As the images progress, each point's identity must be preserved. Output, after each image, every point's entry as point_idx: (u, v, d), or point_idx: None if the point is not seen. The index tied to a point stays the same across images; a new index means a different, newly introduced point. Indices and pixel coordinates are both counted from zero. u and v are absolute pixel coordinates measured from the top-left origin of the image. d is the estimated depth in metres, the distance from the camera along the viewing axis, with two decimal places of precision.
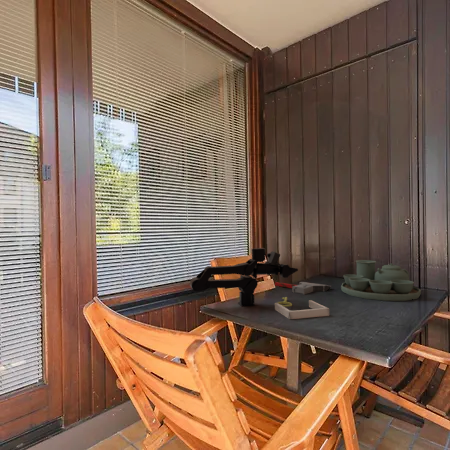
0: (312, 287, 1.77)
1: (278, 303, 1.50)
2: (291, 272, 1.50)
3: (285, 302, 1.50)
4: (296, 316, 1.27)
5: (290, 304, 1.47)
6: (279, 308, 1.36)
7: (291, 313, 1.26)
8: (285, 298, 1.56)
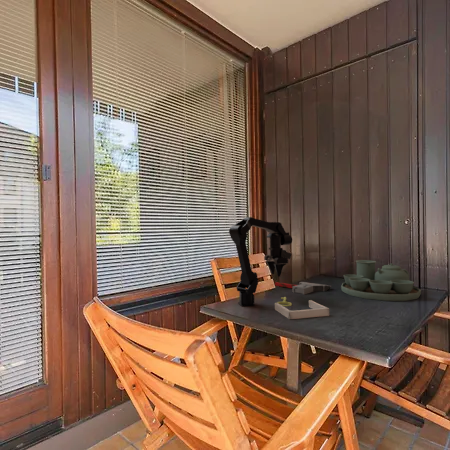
0: (312, 287, 1.77)
1: (278, 303, 1.50)
2: (277, 269, 1.57)
3: (285, 302, 1.51)
4: (296, 316, 1.27)
5: (290, 304, 1.47)
6: (279, 308, 1.36)
7: (291, 313, 1.26)
8: (284, 298, 1.56)
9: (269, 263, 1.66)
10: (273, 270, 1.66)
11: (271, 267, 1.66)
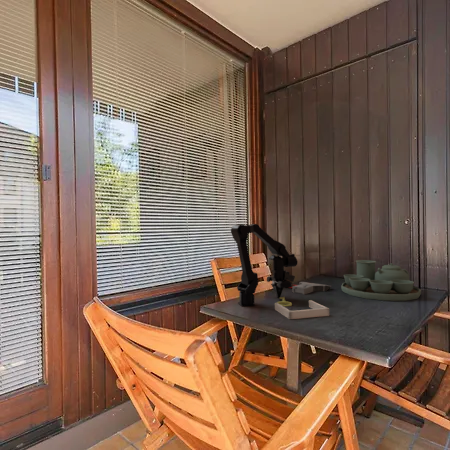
0: (312, 287, 1.77)
1: (278, 303, 1.50)
2: (277, 291, 1.57)
3: (284, 302, 1.50)
4: (296, 316, 1.27)
5: (290, 303, 1.47)
6: (279, 308, 1.36)
7: (291, 313, 1.26)
8: (283, 298, 1.56)
9: None
10: None
11: None
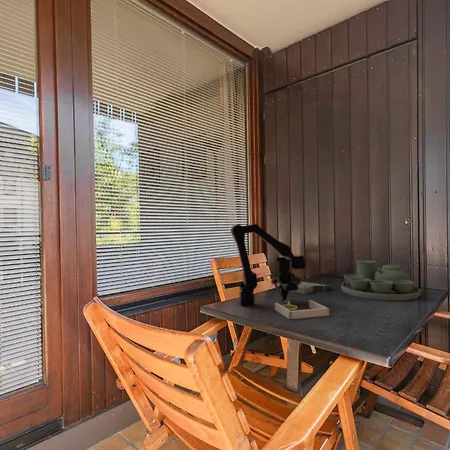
0: (312, 287, 1.77)
1: (283, 306, 1.43)
2: (283, 293, 1.51)
3: (290, 305, 1.44)
4: (296, 316, 1.27)
5: (296, 307, 1.41)
6: (279, 308, 1.36)
7: (291, 313, 1.26)
8: (288, 301, 1.49)
9: (280, 289, 1.53)
10: None
11: None
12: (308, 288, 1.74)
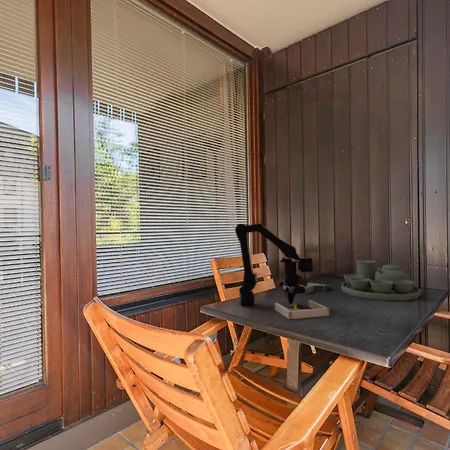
0: (312, 287, 1.77)
1: None
2: (289, 297, 1.44)
3: (296, 309, 1.37)
4: (296, 316, 1.27)
5: None
6: (279, 308, 1.36)
7: (291, 313, 1.26)
8: (295, 304, 1.42)
9: None
10: None
11: None
12: (308, 288, 1.74)
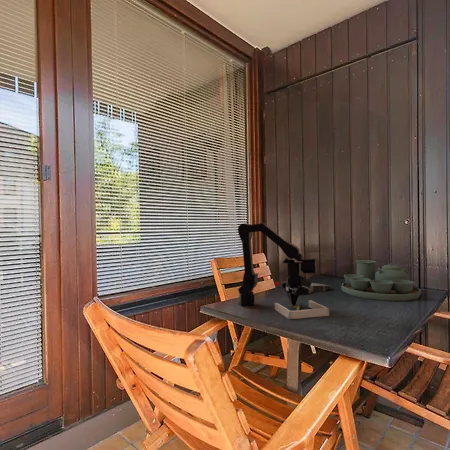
0: (312, 287, 1.77)
1: None
2: (292, 298, 1.41)
3: None
4: (296, 316, 1.27)
5: None
6: (279, 308, 1.36)
7: (291, 313, 1.26)
8: (297, 306, 1.39)
9: (289, 293, 1.43)
10: None
11: None
12: (308, 288, 1.74)
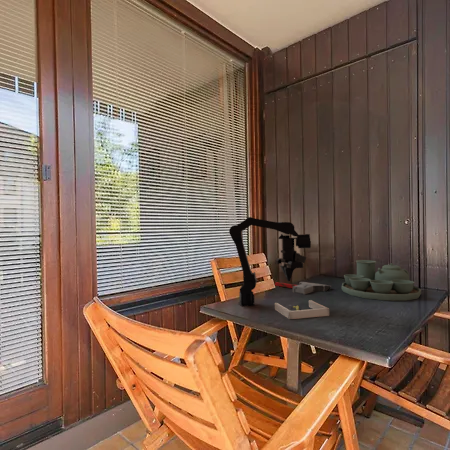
0: (312, 287, 1.77)
1: None
2: (287, 273, 1.45)
3: None
4: (296, 316, 1.27)
5: None
6: (279, 308, 1.36)
7: (291, 313, 1.26)
8: (297, 307, 1.39)
9: None
10: None
11: None
12: (308, 288, 1.74)
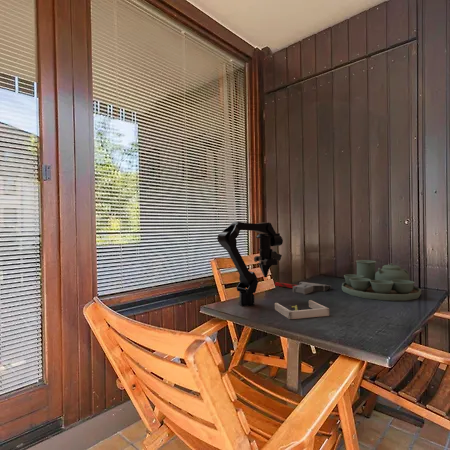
0: (312, 287, 1.77)
1: None
2: (264, 269, 1.56)
3: None
4: (296, 316, 1.27)
5: None
6: (279, 308, 1.36)
7: (291, 313, 1.26)
8: (295, 307, 1.39)
9: None
10: None
11: None
12: (308, 288, 1.74)
